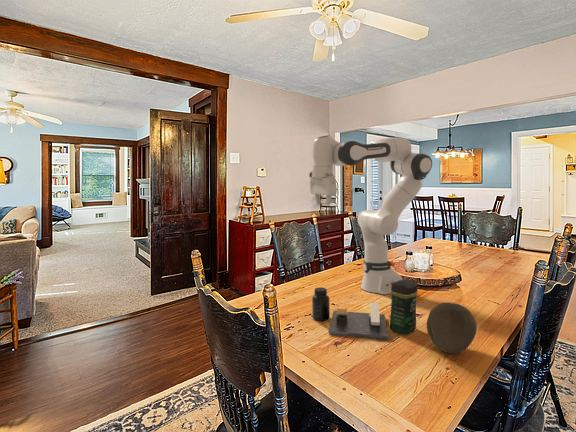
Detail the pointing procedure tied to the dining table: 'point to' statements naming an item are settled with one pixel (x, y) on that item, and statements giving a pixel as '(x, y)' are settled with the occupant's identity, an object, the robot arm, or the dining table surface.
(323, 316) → the supplement bottle
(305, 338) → the dining table surface
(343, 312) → the paddle
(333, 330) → the panel
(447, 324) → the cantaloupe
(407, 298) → the coffee jar
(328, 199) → the robot arm
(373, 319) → the paddle
